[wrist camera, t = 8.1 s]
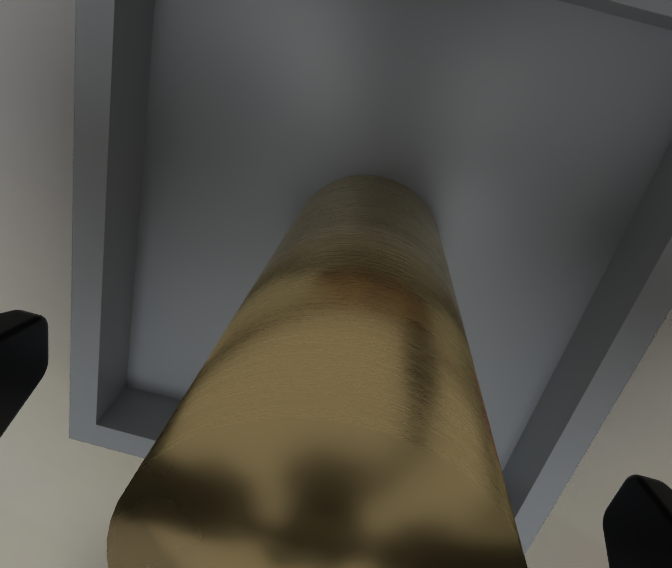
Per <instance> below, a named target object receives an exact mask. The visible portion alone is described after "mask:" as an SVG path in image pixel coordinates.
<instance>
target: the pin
mask: <svg viewBox="0 0 672 568" xmlns="http://www.w3.org/2000/svg"><path fill="white" fill-rule="evenodd" d="M107 561H108V567H109V568H527V564H526V560H525V557H524V553H523V549H522V545H521V541H520V538H519V534H518V530H517V526H516V522H515V519H514V515H513V511H512V507H511V503H510V500H509V496H508V492H507V488H506V484H505V481H504V477H503V473H502V469H501V465H500V462H499V458H498V454H497V450H496V446H495V443H494V439H493V435H492V431H491V427H490V424H489V420H488V416H487V412H486V408H485V405H484V401H483V397H482V393H481V389H480V386H479V382H478V378H477V374H476V371H475V367H474V363H473V359H472V355H471V352H470V348H469V344H468V340H467V336H466V333H465V329H464V325H463V321H462V317H461V314H460V310H459V306H458V302H457V298H456V295H455V291H454V287H453V283H452V279H451V276H450V272H449V268H448V264H447V260H446V257H445V253H444V249H443V245H442V241H441V238H440V234H439V230H438V227H437V224H436V221H435V219H434V217H433V215H432V213H431V211H430V210H429V208H428V207H427V205H426V204H425V203H424V202H423V201H422V199H421V198H420V197H419V196H418V195H416V194H415V193H414V192H413V191H412V190H410V189H409V188H407V187H406V186H404V185H402V184H400V183H398V182H396V181H394V180H391V179H388V178H385V177H380V176H374V175H356V176H350V177H345V178H342V179H339V180H336V181H334V182H332V183H330V184H328V185H326V186H324V187H323V188H321V189H320V190H318V191H317V192H316V193H315V194H314V195H313V196H311V197H310V198H309V200H308V201H307V202H306V203H305V204H304V206H303V207H302V209H301V211H300V212H299V214H298V215H297V217H296V219H295V220H294V222H293V223H292V225H291V227H290V228H289V230H288V231H287V233H286V234H285V236H284V238H283V239H282V241H281V242H280V244H279V246H278V247H277V249H276V250H275V252H274V254H273V255H272V257H271V258H270V260H269V262H268V263H267V265H266V266H265V268H264V270H263V271H262V273H261V274H260V276H259V277H258V279H257V281H256V282H255V284H254V285H253V287H252V289H251V290H250V292H249V293H248V295H247V297H246V298H245V300H244V301H243V303H242V305H241V306H240V308H239V309H238V311H237V313H236V314H235V316H234V317H233V319H232V321H231V322H230V324H229V325H228V327H227V328H226V330H225V332H224V333H223V335H222V336H221V338H220V340H219V341H218V343H217V344H216V346H215V348H214V349H213V351H212V352H211V354H210V356H209V357H208V359H207V360H206V362H205V364H204V365H203V367H202V368H201V370H200V371H199V373H198V375H197V376H196V378H195V379H194V381H193V383H192V384H191V386H190V387H189V389H188V391H187V392H186V394H185V395H184V397H183V399H182V400H181V402H180V403H179V405H178V407H177V408H176V410H175V411H174V413H173V415H172V416H171V418H170V419H169V421H168V422H167V424H166V426H165V427H164V429H163V430H162V432H161V434H160V435H159V437H158V438H157V440H156V442H155V443H154V445H153V446H152V448H151V450H150V451H149V453H148V454H147V456H146V458H145V459H144V461H143V462H142V464H141V465H140V467H139V469H138V470H137V472H136V473H135V475H134V477H133V478H132V480H131V481H130V483H129V485H128V486H127V488H126V489H125V491H124V493H123V494H122V496H121V497H120V499H119V501H118V503H117V505H116V508H115V510H114V513H113V515H112V518H111V521H110V526H109V532H108V537H107Z"/></svg>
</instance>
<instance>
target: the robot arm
mask: <svg viewBox="0 0 672 568" xmlns="http://www.w3.org/2000/svg"><path fill="white" fill-rule="evenodd" d="M47 365H48V323H47V320H46V319H45V318H44V317H43V316H41V315H38V314H34V313H30V312H26V311H23V310H12V311H8V312H4V313H0V437H1V436H2V435H3V433H4V432H5V430H6V429H7V427H8V426H9V425H10V423H11V422H12V420H13V419H14V417H15V416H16V415H17V413H18V412H19V410H20V409H21V407H22V406H23V405H24V403H25V402H26V400H27V399H28V397H29V396H30V395H31V393H32V392H33V390H34V389H35V387H36V386H37V385H38V383H39V382H40V380H41V379H42V377H43V376H44V374H45V372H46V369H47ZM603 531H604V537H605V543H606V549H607V556H608V562H609V568H672V489H671V488H669V487H668V486H667V485H666V484H665V483H663V482H661V481H659V480H656V479H652V478H648V477H645V476H641V475H631V476H630V477H628V478H627V479H626V480H625V482H624V483H623V485H622V486H621V488H620V489H619V491H618V492H617V494H616V495H615V497H614V498H613V500H612V501H611V503H610V504H609V506H608V507H607V509H606V511H605V514H604V518H603Z"/></svg>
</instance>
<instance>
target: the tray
mask: <svg viewBox="0 0 672 568" xmlns="http://www.w3.org/2000/svg"><path fill="white" fill-rule="evenodd" d="M356 175H374V176H380V177H385V178H388V179H391V180H394V181H396V182H398V183H400V184H402V185H404V186H406V187H407V188H409V189H410V190H412V191H413V192H414V193H415V194H416V195H418V196H419V197H420V198H421V199H422V201H423V202H424V203H425V204H426V205H427V207H428V208H429V210H430V211H431V213H432V215H433V217H434V219H435V221H436V224H437V227H438V230H439V234H440V238H441V241H442V245H443V249H444V253H445V257H446V260H447V264H448V268H449V272H450V276H451V279H452V283H453V287H454V291H455V295H456V298H457V302H458V306H459V310H460V314H461V317H462V321H463V325H464V329H465V333H466V336H467V340H468V344H469V348H470V352H471V355H472V359H473V363H474V367H475V371H476V374H477V378H478V382H479V386H480V389H481V393H482V397H483V401H484V405H485V408H486V412H487V416H488V420H489V424H490V427H491V431H492V435H493V439H494V443H495V446H496V450H497V454H498V458H499V462H500V465H501V469H502V473H503V477H504V481H505V484H506V488H507V492H508V496H509V500H510V503H511V507H512V511H513V515H514V519H515V522H516V526H517V530H518V534H519V538H520V541H521V545H522V549H523V553H524V555H525V553H526V552H527V550H528V548H529V546H530V545H531V543H532V541H533V540H534V538H535V536H536V535H537V533H538V531H539V530H540V528H541V526H542V525H543V523H544V521H545V520H546V518H547V516H548V515H549V513H550V511H551V509H552V508H553V506H554V504H555V503H556V501H557V499H558V498H559V496H560V494H561V493H562V491H563V489H564V488H565V486H566V484H567V483H568V481H569V479H570V478H571V476H572V474H573V472H574V471H575V469H576V467H577V466H578V464H579V462H580V461H581V459H582V457H583V456H584V454H585V452H586V451H587V449H588V447H589V446H590V444H591V442H592V441H593V439H594V437H595V435H596V434H597V432H598V430H599V429H600V427H601V425H602V424H603V422H604V420H605V419H606V417H607V415H608V414H609V412H610V410H611V409H612V407H613V405H614V403H615V402H616V400H617V398H618V397H619V395H620V393H621V392H622V390H623V388H624V387H625V385H626V383H627V382H628V380H629V378H630V377H631V375H632V373H633V372H634V370H635V368H636V366H637V365H638V363H639V361H640V360H641V358H642V356H643V355H644V353H645V351H646V350H647V348H648V346H649V345H650V343H651V341H652V340H653V338H654V336H655V335H656V333H657V331H658V329H659V328H660V326H661V324H662V323H663V321H664V319H665V318H666V316H667V314H668V313H669V311H670V309H671V308H672V0H76V28H75V93H74V158H73V223H72V288H71V353H70V418H69V438H71V439H75V440H78V441H82V442H86V443H89V444H93V445H97V446H101V447H104V448H108V449H112V450H116V451H119V452H123V453H127V454H130V455H134V456H138V457H142V458H146V456H147V454H148V453H149V451H150V450H151V448H152V446H153V445H154V443H155V442H156V440H157V438H158V437H159V435H160V434H161V432H162V430H163V429H164V427H165V426H166V424H167V422H168V421H169V419H170V418H171V416H172V415H173V413H174V411H175V410H176V408H177V407H178V405H179V403H180V402H181V400H182V399H183V397H184V395H185V394H186V392H187V391H188V389H189V387H190V386H191V384H192V383H193V381H194V379H195V378H196V376H197V375H198V373H199V371H200V370H201V368H202V367H203V365H204V364H205V362H206V360H207V359H208V357H209V356H210V354H211V352H212V351H213V349H214V348H215V346H216V344H217V343H218V341H219V340H220V338H221V336H222V335H223V333H224V332H225V330H226V328H227V327H228V325H229V324H230V322H231V321H232V319H233V317H234V316H235V314H236V313H237V311H238V309H239V308H240V306H241V305H242V303H243V301H244V300H245V298H246V297H247V295H248V293H249V292H250V290H251V289H252V287H253V285H254V284H255V282H256V281H257V279H258V277H259V276H260V274H261V273H262V271H263V270H264V268H265V266H266V265H267V263H268V262H269V260H270V258H271V257H272V255H273V254H274V252H275V250H276V249H277V247H278V246H279V244H280V242H281V241H282V239H283V238H284V236H285V234H286V233H287V231H288V230H289V228H290V227H291V225H292V223H293V222H294V220H295V219H296V217H297V215H298V214H299V212H300V211H301V209H302V207H303V206H304V204H305V203H306V202H307V201H308V200H309V198H310V197H311V196H313V195H314V194H315V193H316V192H317V191H318V190H320V189H321V188H323V187H324V186H326V185H328V184H330V183H332V182H334V181H336V180H339V179H342V178H345V177H350V176H356Z"/></svg>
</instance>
